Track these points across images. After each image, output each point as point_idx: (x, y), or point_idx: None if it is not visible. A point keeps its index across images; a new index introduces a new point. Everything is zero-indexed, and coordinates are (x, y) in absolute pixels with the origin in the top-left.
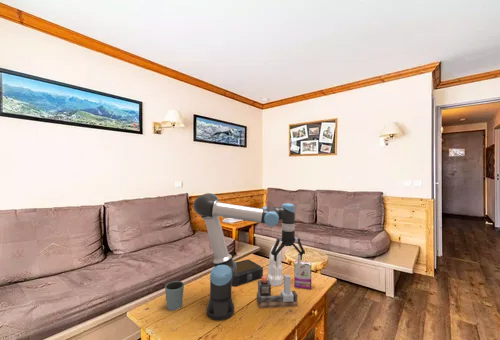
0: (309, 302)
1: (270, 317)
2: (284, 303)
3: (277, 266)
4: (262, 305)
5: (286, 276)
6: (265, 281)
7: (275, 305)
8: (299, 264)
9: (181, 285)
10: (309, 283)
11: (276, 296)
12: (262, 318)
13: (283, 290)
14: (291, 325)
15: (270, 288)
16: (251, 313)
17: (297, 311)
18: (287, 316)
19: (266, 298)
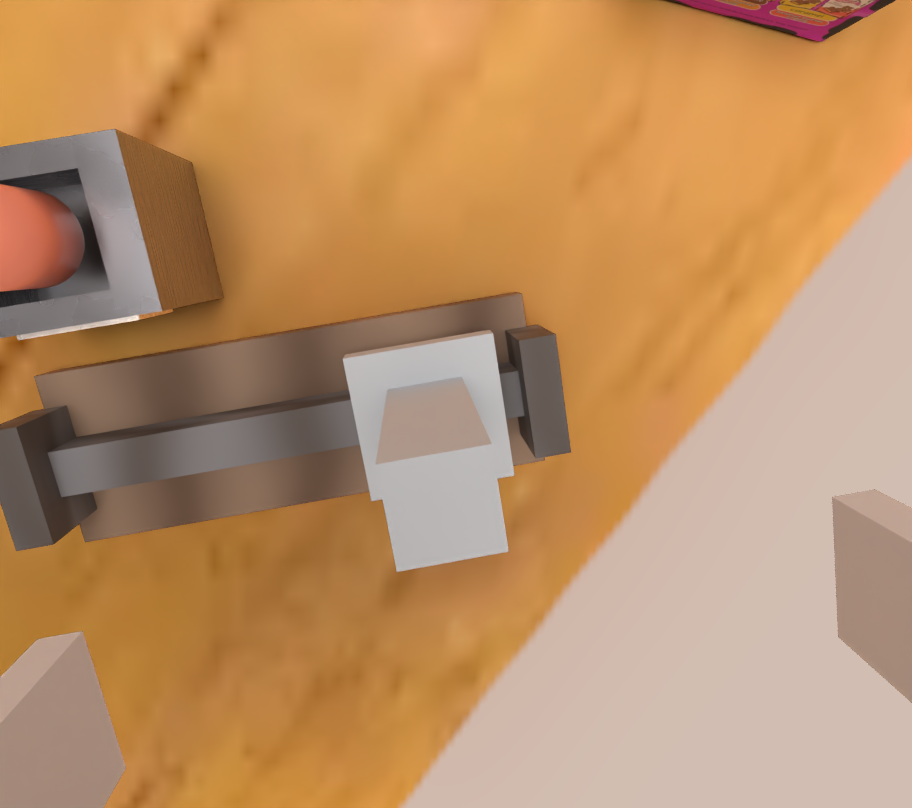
0: (698, 370)
1: (227, 666)
2: None
3: (96, 794)
4: (118, 535)
5: (420, 534)
6: (39, 286)
7: (279, 503)
8: (888, 670)
9: None
10: (852, 5)
11: (281, 438)
12: (145, 688)
13: (384, 356)
14: (424, 752)
15: (179, 306)
16: (17, 624)
17: (520, 548)
18: (403, 636)
19: (145, 481)
